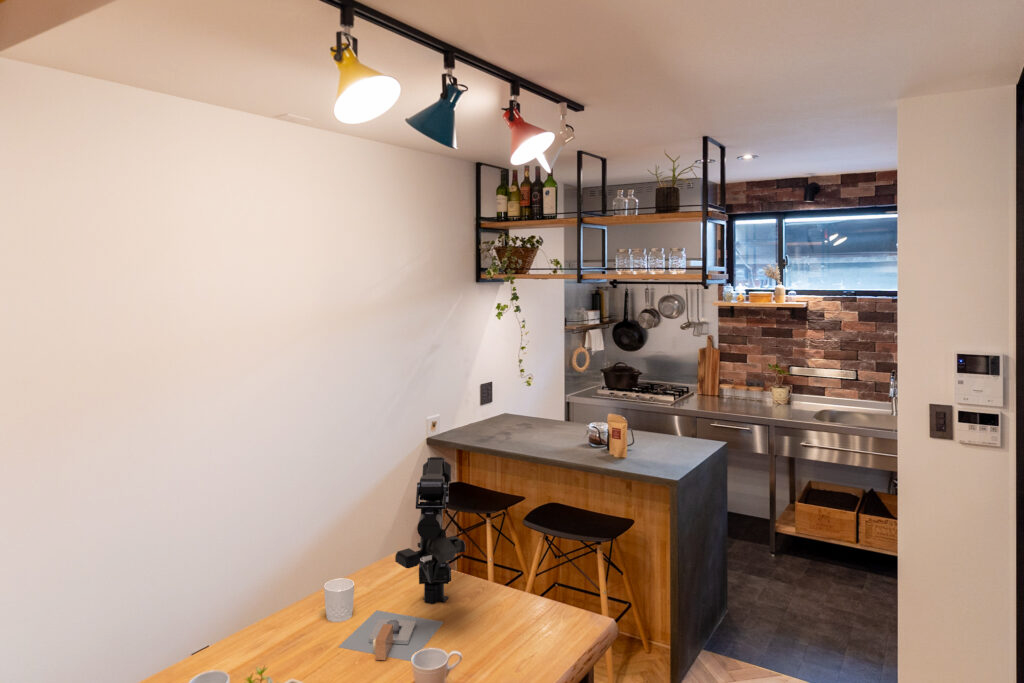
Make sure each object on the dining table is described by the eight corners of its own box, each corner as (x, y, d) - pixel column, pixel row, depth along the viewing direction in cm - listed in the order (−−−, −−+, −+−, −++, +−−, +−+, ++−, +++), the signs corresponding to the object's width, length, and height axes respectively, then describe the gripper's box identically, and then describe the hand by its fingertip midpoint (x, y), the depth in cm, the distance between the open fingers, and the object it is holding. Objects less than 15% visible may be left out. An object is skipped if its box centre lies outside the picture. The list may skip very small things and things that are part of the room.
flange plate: (378, 622, 181) (379, 604, 181) (416, 624, 180) (416, 606, 180) (359, 658, 164) (359, 638, 163) (400, 661, 163) (401, 641, 163)
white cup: (346, 629, 180) (346, 592, 179) (319, 625, 182) (318, 589, 181) (359, 614, 188) (359, 579, 187) (332, 611, 189) (332, 576, 189)
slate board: (376, 614, 188) (376, 599, 188) (443, 626, 183) (444, 611, 182) (338, 651, 169) (337, 635, 169) (411, 666, 163) (412, 649, 163)
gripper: (418, 543, 167) (417, 604, 168) (478, 526, 179) (477, 583, 180) (394, 529, 175) (394, 588, 177) (453, 514, 187) (452, 569, 189)
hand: (430, 582), depth 180 cm, fingers closed
